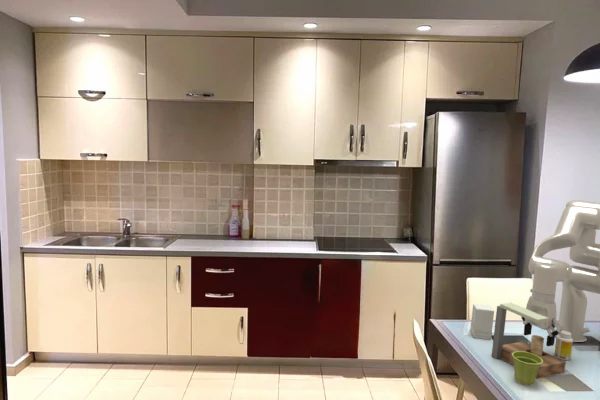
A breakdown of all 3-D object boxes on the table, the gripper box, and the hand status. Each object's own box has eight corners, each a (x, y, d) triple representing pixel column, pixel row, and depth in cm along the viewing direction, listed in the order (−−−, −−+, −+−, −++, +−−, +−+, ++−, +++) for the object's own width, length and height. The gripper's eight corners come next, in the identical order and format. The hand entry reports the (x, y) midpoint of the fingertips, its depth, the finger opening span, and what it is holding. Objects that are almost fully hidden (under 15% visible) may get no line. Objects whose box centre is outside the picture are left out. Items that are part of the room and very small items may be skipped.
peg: (526, 361, 172) (529, 335, 170) (534, 359, 173) (537, 334, 172) (535, 366, 168) (538, 340, 167) (543, 364, 170) (546, 339, 168)
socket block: (522, 351, 180) (523, 341, 180) (564, 372, 164) (565, 362, 164) (496, 355, 175) (497, 345, 174) (536, 378, 158) (538, 367, 158)
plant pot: (542, 390, 150) (546, 365, 149) (511, 385, 153) (514, 360, 152) (536, 377, 159) (539, 353, 158) (507, 372, 162) (510, 349, 161)
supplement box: (491, 340, 189) (494, 311, 188) (472, 337, 191) (475, 308, 189) (487, 333, 197) (490, 305, 195) (469, 330, 198) (472, 303, 197)
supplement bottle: (573, 359, 175) (577, 334, 174) (564, 361, 173) (567, 336, 172) (560, 353, 180) (563, 328, 179) (550, 355, 178) (554, 330, 177)
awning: (502, 354, 176) (508, 301, 174) (541, 375, 161) (548, 318, 158) (491, 356, 174) (497, 302, 172) (529, 378, 158) (537, 319, 156)
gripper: (516, 289, 174) (512, 332, 176) (557, 305, 158) (552, 351, 161) (530, 287, 177) (525, 329, 179) (572, 303, 161) (566, 348, 164)
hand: (538, 340), depth 170 cm, fingers open, 9 cm apart
